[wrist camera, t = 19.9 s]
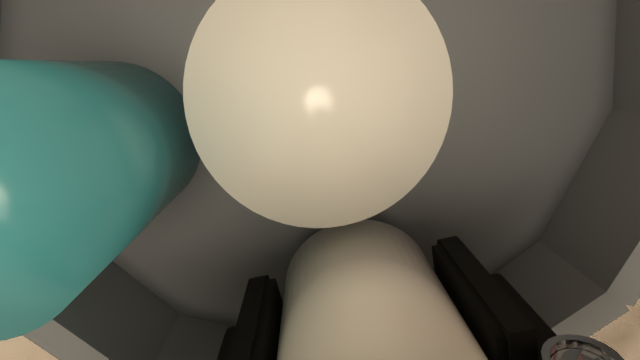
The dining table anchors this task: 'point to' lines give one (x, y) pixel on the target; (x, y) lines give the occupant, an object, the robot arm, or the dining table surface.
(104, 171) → the teal bead
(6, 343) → the dining table surface
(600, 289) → the ring dish
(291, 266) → the cream bead
